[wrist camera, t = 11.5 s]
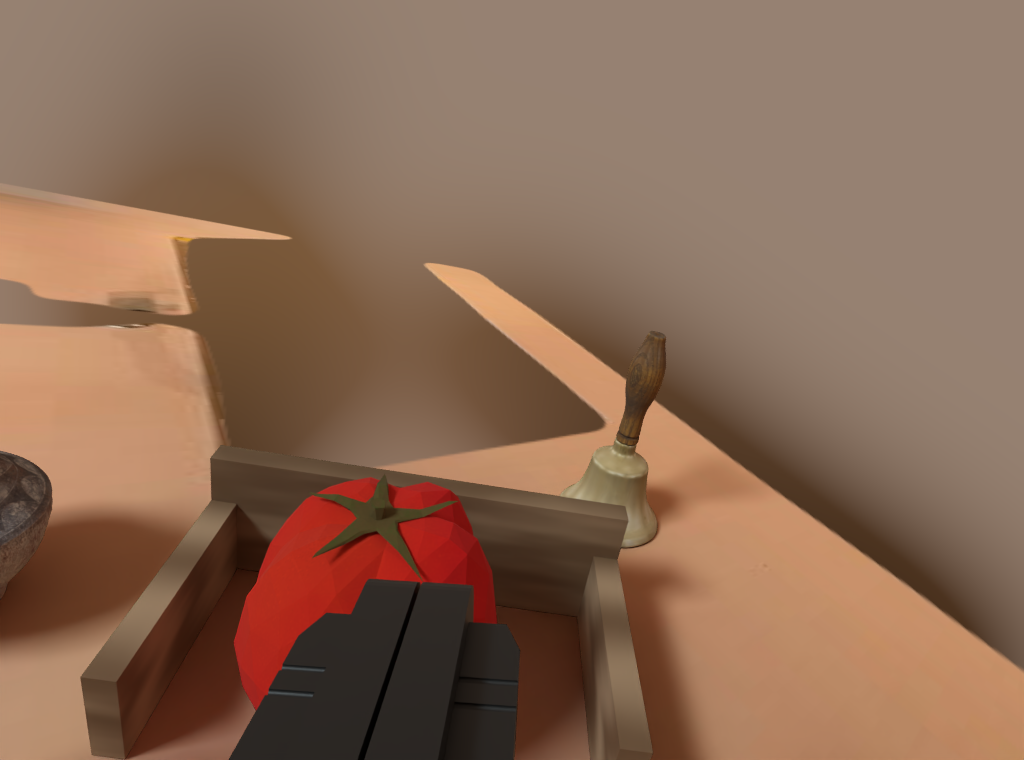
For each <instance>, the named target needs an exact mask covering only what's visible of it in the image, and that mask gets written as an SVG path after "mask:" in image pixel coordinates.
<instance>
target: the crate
mask: <svg viewBox="0 0 1024 760" xmlns="http://www.w3.org/2000/svg"><path fill="white" fill-rule="evenodd" d="M210 462H211V498H212V500H211V502H210V503H209V504H208V506H207V507H206V508H205V510H204V511H203V512H202V514H201V515H200V516H199V518H198V519H197V521H196V522H195V523H194V525H193V526H192V527H191V529H190V530H189V531H188V533H187V534H186V535H185V537H184V538H183V539H182V541H181V542H180V543H179V545H178V546H177V548H176V549H175V550H174V552H173V553H172V554H171V556H170V557H169V558H168V560H167V561H166V562H165V564H164V565H163V566H162V568H161V569H160V570H159V572H158V573H157V574H156V576H155V577H154V579H153V580H152V581H151V583H150V584H149V585H148V587H147V588H146V589H145V591H144V592H143V593H142V595H141V596H140V597H139V599H138V600H137V601H136V603H135V604H134V606H133V607H132V608H131V610H130V611H129V612H128V614H127V615H126V616H125V618H124V619H123V620H122V622H121V623H120V624H119V626H118V627H117V628H116V630H115V631H114V633H113V634H112V635H111V637H110V638H109V639H108V641H107V642H106V643H105V645H104V646H103V647H102V649H101V650H100V651H99V653H98V654H97V655H96V657H95V658H94V660H93V661H92V662H91V664H90V665H89V666H88V668H87V669H86V670H85V672H84V673H83V674H82V676H81V677H80V678H81V685H82V691H83V698H84V705H85V712H86V719H87V726H88V732H89V739H90V746H91V753H92V755H96V756H104V757H111V758H119V759H126V757H127V755H128V753H129V752H130V750H131V748H132V747H133V745H134V743H135V742H136V740H137V738H138V736H139V735H140V733H141V731H142V730H143V728H144V726H145V725H146V723H147V721H148V719H149V718H150V716H151V714H152V713H153V711H154V709H155V707H156V706H157V704H158V702H159V701H160V699H161V697H162V696H163V694H164V692H165V690H166V689H167V687H168V685H169V684H170V682H171V680H172V679H173V677H174V675H175V673H176V672H177V670H178V668H179V667H180V665H181V663H182V661H183V660H184V658H185V656H186V655H187V653H188V651H189V650H190V648H191V646H192V644H193V643H194V641H195V639H196V638H197V636H198V634H199V633H200V631H201V629H202V627H203V626H204V624H205V622H206V621H207V619H208V617H209V615H210V614H211V612H212V610H213V609H214V607H215V605H216V604H217V602H218V600H219V598H220V597H221V595H222V593H223V592H224V590H225V588H226V587H227V585H228V583H229V581H230V580H231V578H232V576H233V575H234V573H235V571H236V569H237V568H239V569H246V570H253V571H260V568H261V566H262V563H263V561H264V558H265V555H266V553H267V550H268V548H269V545H270V543H271V542H272V540H273V539H274V537H275V536H276V534H277V533H278V532H279V530H280V529H281V527H282V526H283V524H284V523H285V522H286V520H287V519H288V518H289V517H290V516H291V515H292V514H293V512H294V511H295V510H296V509H297V508H298V507H299V506H300V505H301V504H302V503H303V502H304V501H305V499H307V498H309V497H310V496H312V494H310V493H309V492H311V493H318V492H320V491H322V490H324V489H326V488H328V487H330V486H334V485H337V484H340V483H344V482H347V481H353V480H358V479H364V478H369V477H372V478H375V479H377V480H381V478H382V477H383V475H384V474H385V475H386V478H387V483H388V484H391V485H393V486H396V487H399V488H402V487H406V486H411V485H416V484H420V483H425V482H430V483H432V484H435V485H438V486H441V487H443V488H446V489H449V490H451V491H452V492H453V493H454V494H455V495H457V496H458V498H459V500H460V502H461V504H462V506H463V509H464V511H465V513H466V515H467V517H468V520H469V522H470V524H471V526H472V530H473V536H474V537H476V538H477V539H478V541H479V543H480V545H481V548H482V550H483V552H484V554H485V556H486V559H487V561H488V563H489V565H490V567H491V570H492V576H493V586H494V596H495V605H499V606H506V607H513V608H520V609H527V610H534V611H541V612H548V613H555V614H562V615H569V616H576V617H577V620H578V631H579V642H580V652H581V663H582V674H583V685H584V696H585V707H586V718H587V729H588V739H589V750H590V760H651V758H652V755H653V750H652V744H651V739H650V734H649V728H648V723H647V717H646V712H645V707H644V701H643V696H642V690H641V685H640V680H639V674H638V669H637V663H636V658H635V653H634V647H633V642H632V636H631V631H630V626H629V620H628V615H627V609H626V604H625V599H624V593H623V588H622V582H621V577H620V572H619V566H618V561H617V559H618V556H619V552H620V549H621V545H622V542H623V539H624V535H625V532H626V528H627V525H628V521H629V520H628V516H627V511H626V507H625V506H621V505H614V504H608V503H601V502H594V501H588V500H581V499H575V498H568V497H561V496H555V495H548V494H542V493H535V492H528V491H522V490H515V489H508V488H502V487H495V486H489V485H482V484H475V483H469V482H462V481H456V480H449V479H442V478H436V477H429V476H422V475H416V474H409V473H403V472H396V471H389V470H383V469H376V468H370V467H363V466H356V465H349V464H343V463H336V462H330V461H323V460H317V459H310V458H303V457H296V456H290V455H284V454H277V453H270V452H264V451H257V450H251V449H244V448H237V447H231V446H224V445H221V446H220V447H219V448H218V449H217V451H216V452H215V453H214V454H213V455H212V457H211V458H210Z"/></svg>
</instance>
